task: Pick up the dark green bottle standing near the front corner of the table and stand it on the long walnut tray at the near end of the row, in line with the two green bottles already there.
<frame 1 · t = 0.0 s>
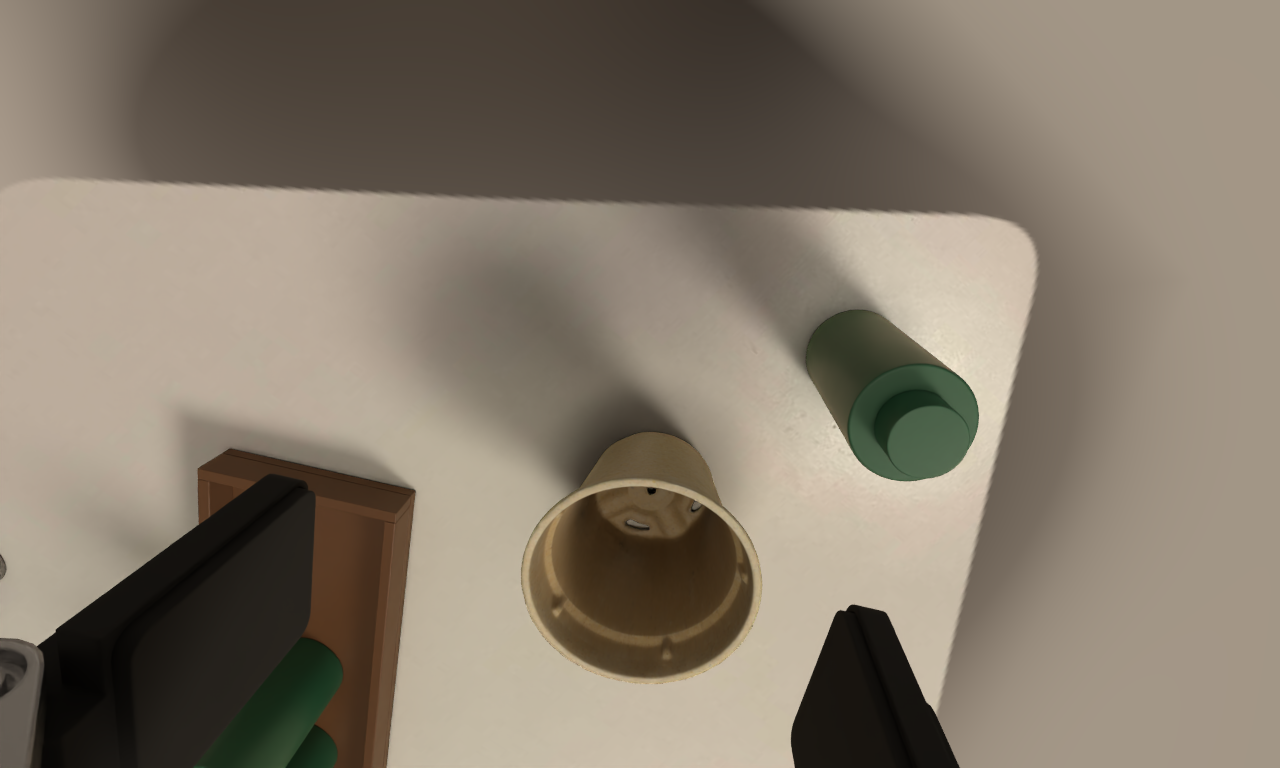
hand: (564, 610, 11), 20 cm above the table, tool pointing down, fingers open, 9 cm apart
tray: (313, 653, 38), on the table
bottle: (853, 355, 30), on the table
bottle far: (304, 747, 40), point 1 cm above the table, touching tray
bottle mid: (307, 667, 38), point 1 cm above the table, touching tray
flower pot: (651, 481, 33), on the table
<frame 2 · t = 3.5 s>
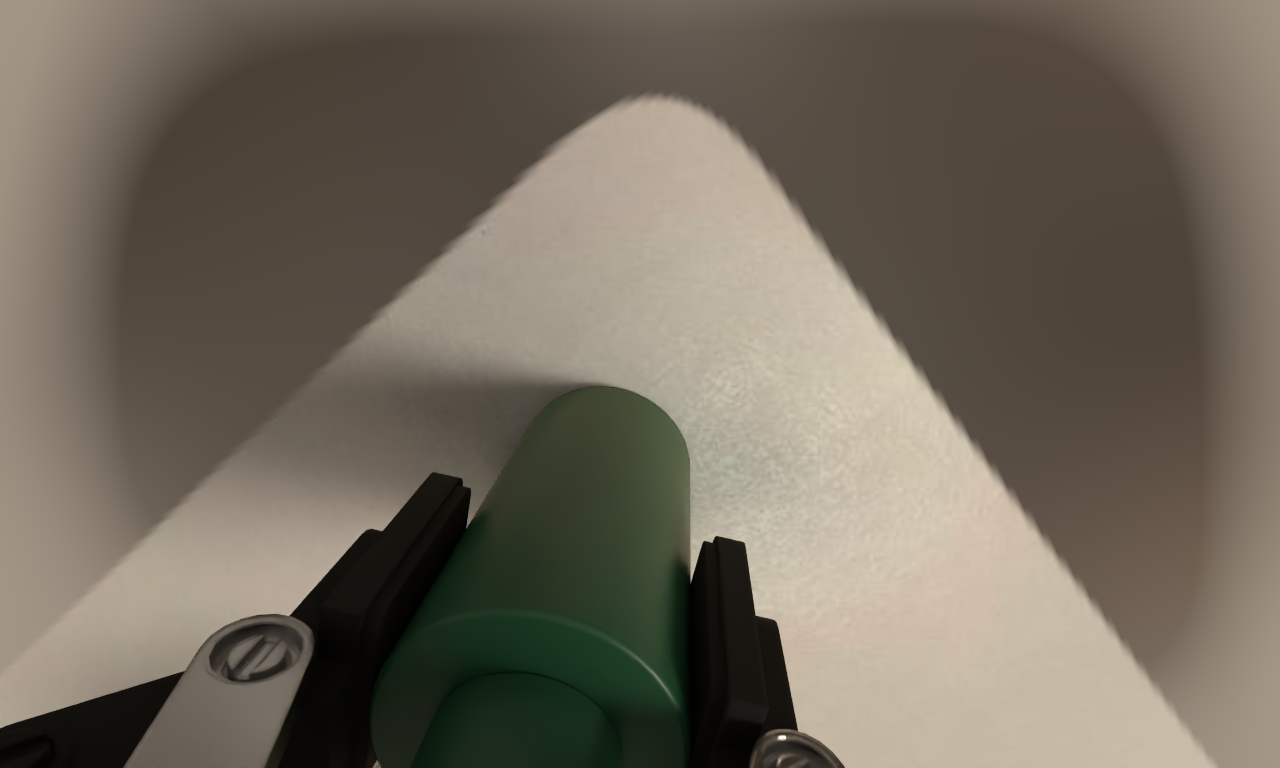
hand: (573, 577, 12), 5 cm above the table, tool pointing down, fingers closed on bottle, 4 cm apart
bottle: (605, 465, 17), on the table, touching gripper
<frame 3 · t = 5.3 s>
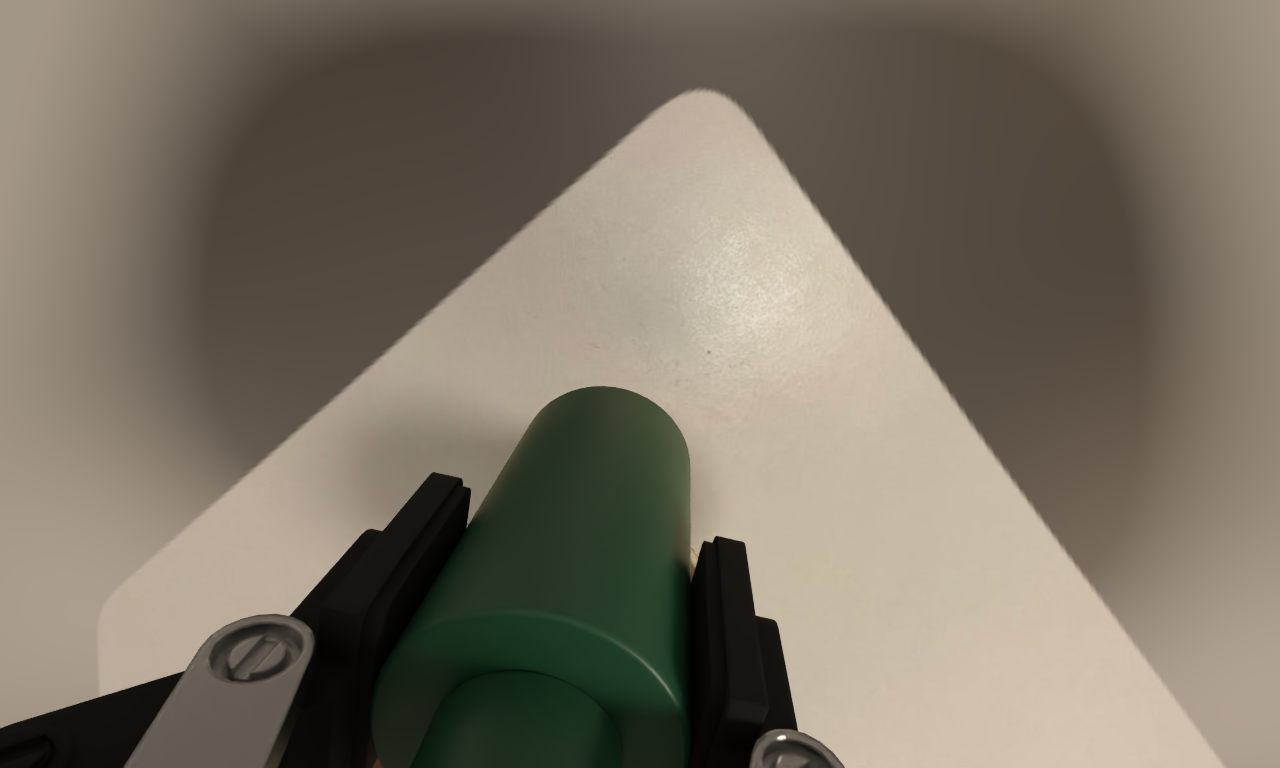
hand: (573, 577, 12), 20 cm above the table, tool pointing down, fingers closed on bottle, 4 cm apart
bottle: (605, 465, 17), point 15 cm above the table, touching gripper
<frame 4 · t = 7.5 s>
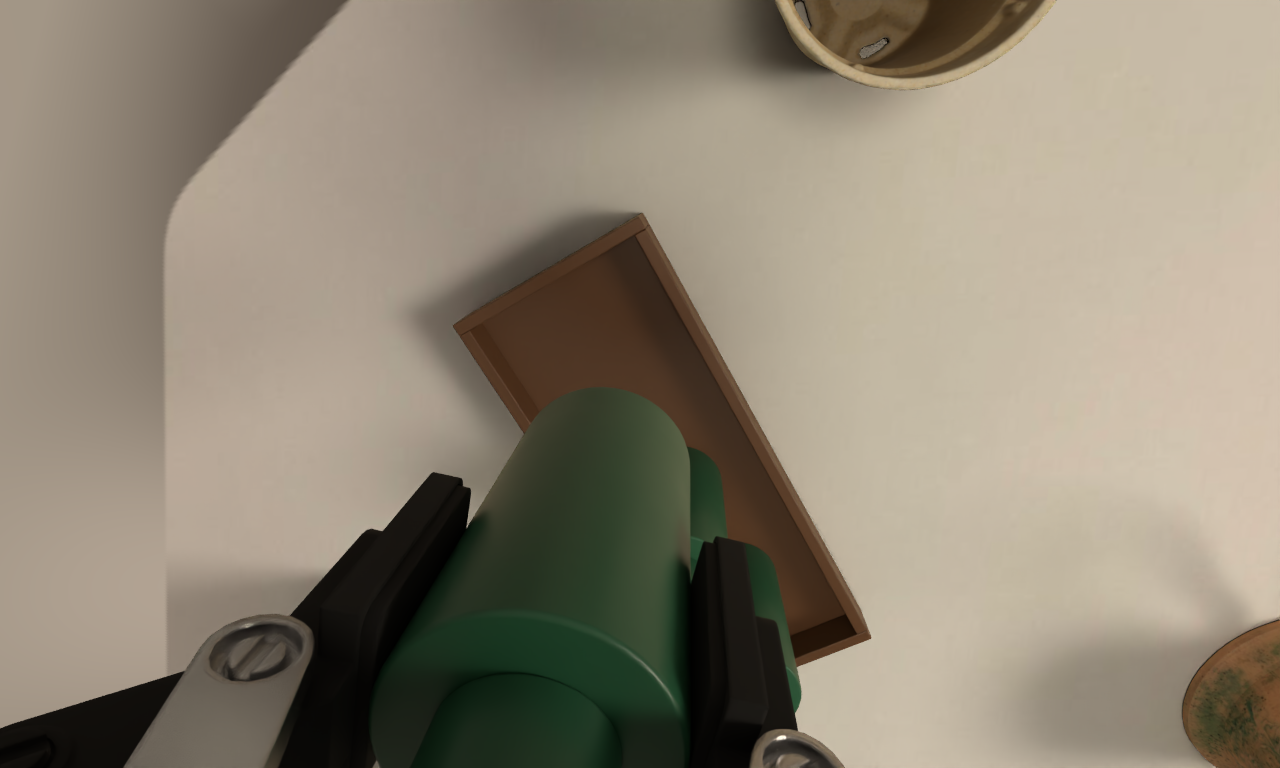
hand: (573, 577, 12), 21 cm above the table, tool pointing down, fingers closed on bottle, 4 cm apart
tray: (676, 470, 34), on the table
bottle: (605, 465, 17), point 16 cm above the table, touching gripper
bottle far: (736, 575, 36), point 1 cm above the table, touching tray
bottle mid: (680, 483, 34), point 1 cm above the table, touching tray
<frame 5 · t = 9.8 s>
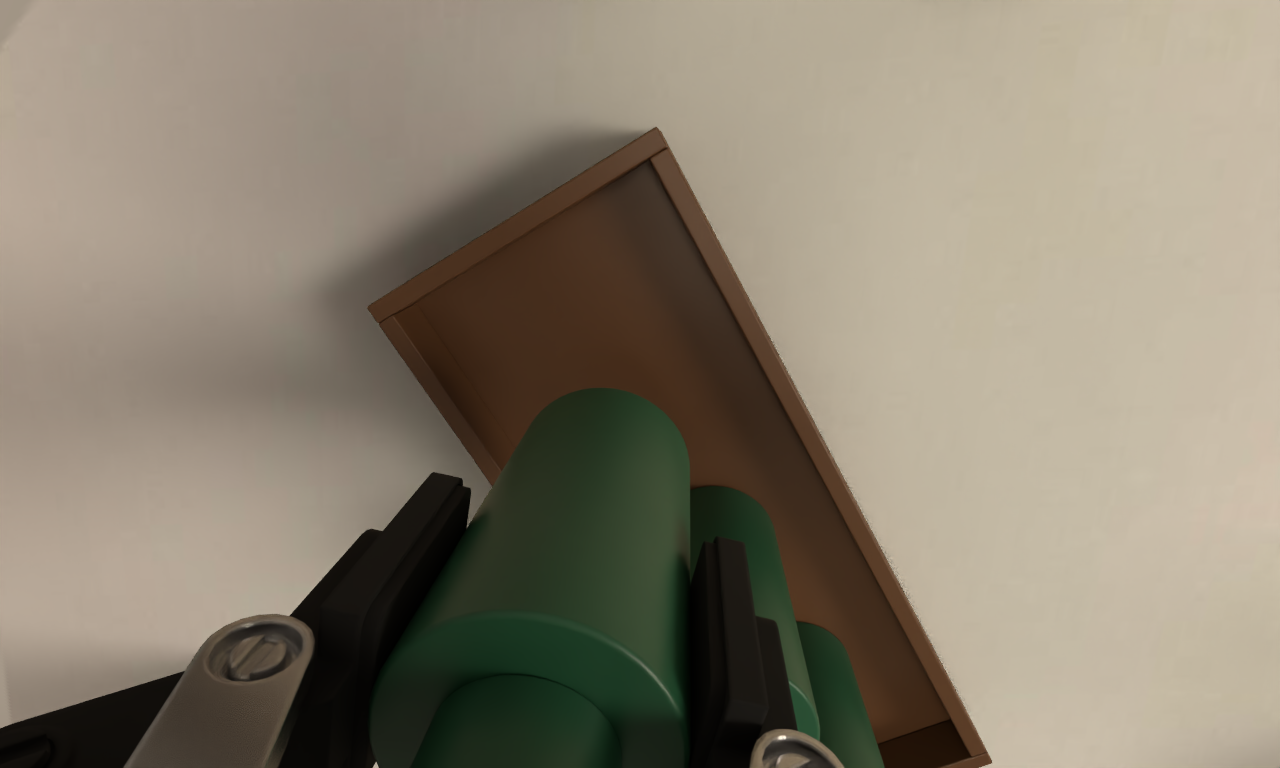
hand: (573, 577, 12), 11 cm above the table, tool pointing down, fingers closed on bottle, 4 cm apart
tray: (707, 519, 24), on the table
bottle: (604, 466, 17), point 6 cm above the table, touching gripper
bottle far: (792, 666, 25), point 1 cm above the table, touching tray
bottle mid: (713, 538, 23), point 1 cm above the table, touching tray
when the fingers open (5 cm above the table, at t = 11.5 s): bottle stays where it is, resting on tray.
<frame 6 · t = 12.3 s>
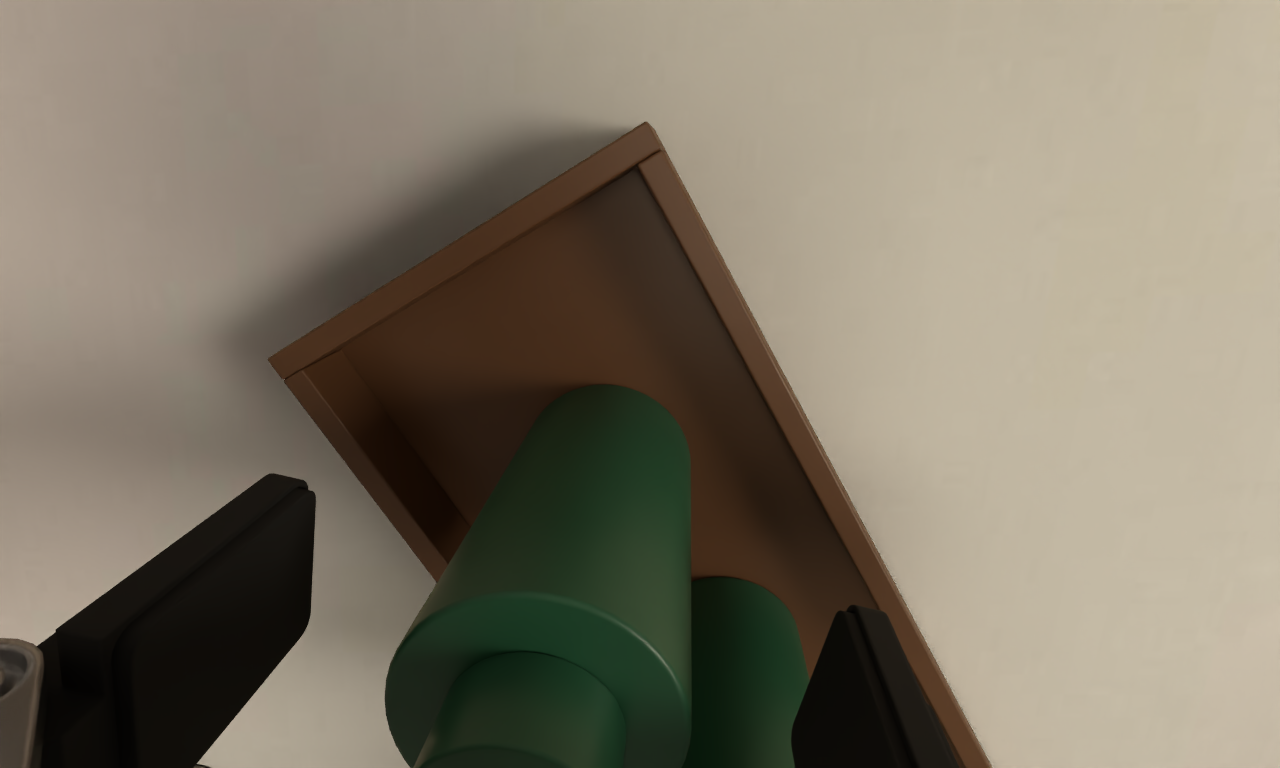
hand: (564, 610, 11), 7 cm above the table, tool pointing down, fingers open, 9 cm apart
tray: (712, 613, 19), on the table
bottle: (607, 461, 17), point 1 cm above the table, touching tray
bottle mid: (721, 639, 19), point 1 cm above the table, touching tray
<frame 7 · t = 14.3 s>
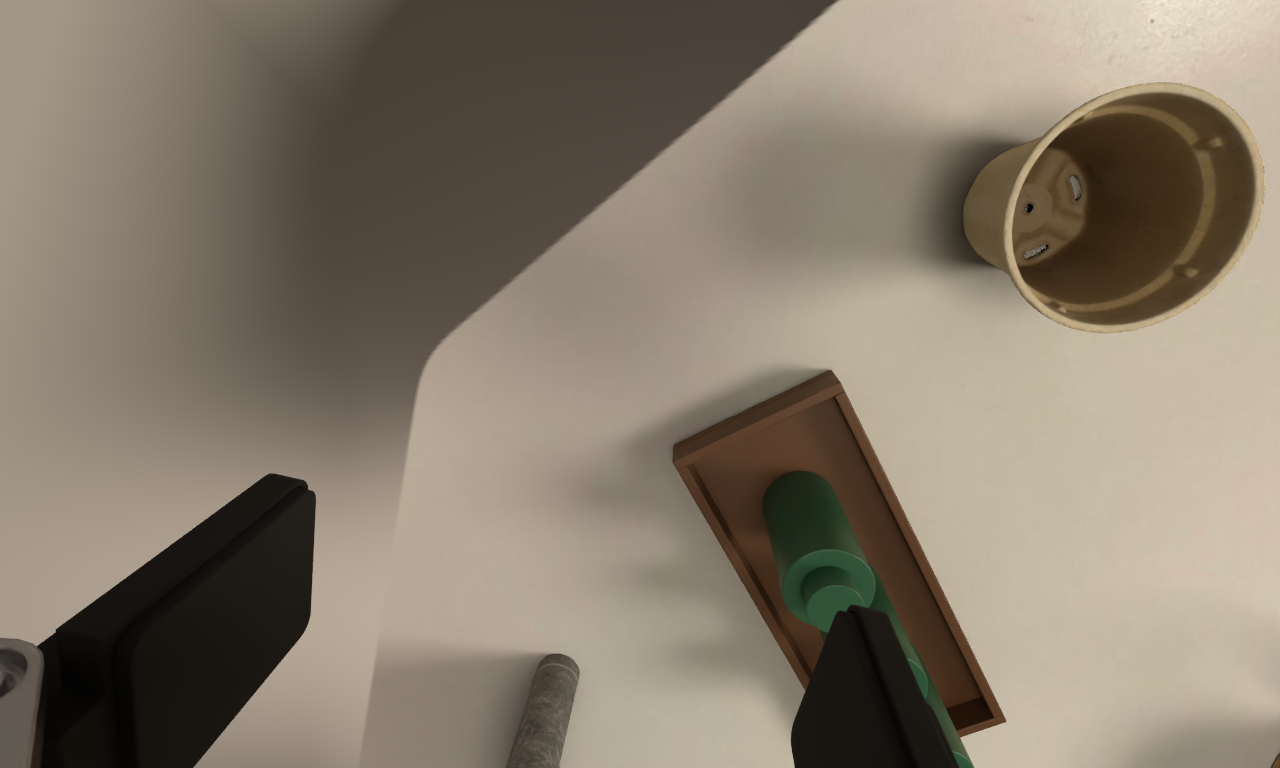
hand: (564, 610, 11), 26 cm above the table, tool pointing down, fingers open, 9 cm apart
tray: (838, 574, 40), on the table
bottle: (799, 503, 38), point 1 cm above the table, touching tray
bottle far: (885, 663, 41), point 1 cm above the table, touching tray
bottle mid: (844, 586, 40), point 1 cm above the table, touching tray
flask: (545, 731, 46), on the table
flower pot: (1020, 206, 33), on the table
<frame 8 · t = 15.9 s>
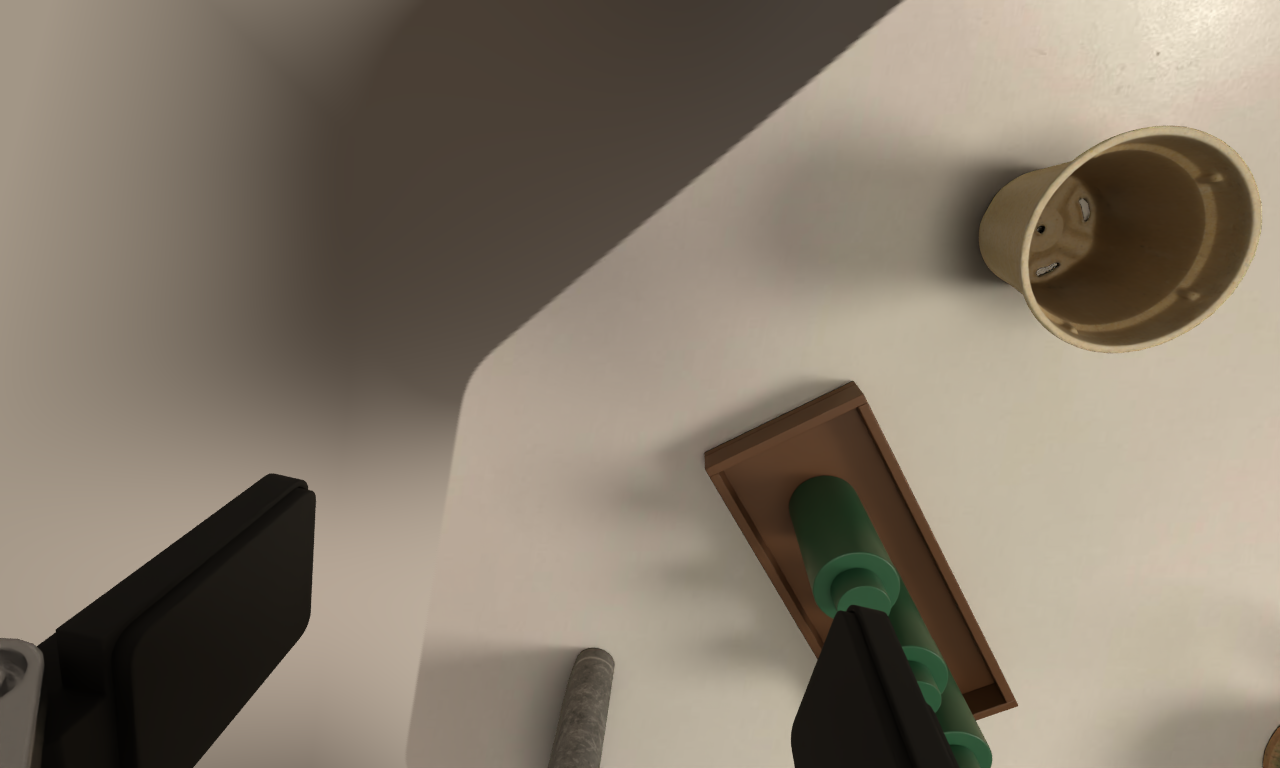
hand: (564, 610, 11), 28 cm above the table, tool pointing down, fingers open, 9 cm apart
tray: (860, 571, 43), on the table
bottle: (823, 505, 41), point 1 cm above the table, touching tray
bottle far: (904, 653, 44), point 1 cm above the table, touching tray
bottle mid: (865, 582, 42), point 1 cm above the table, touching tray
flask: (582, 719, 49), on the table
flower pot: (1032, 227, 35), on the table
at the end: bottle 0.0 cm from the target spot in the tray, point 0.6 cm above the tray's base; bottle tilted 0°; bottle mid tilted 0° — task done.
